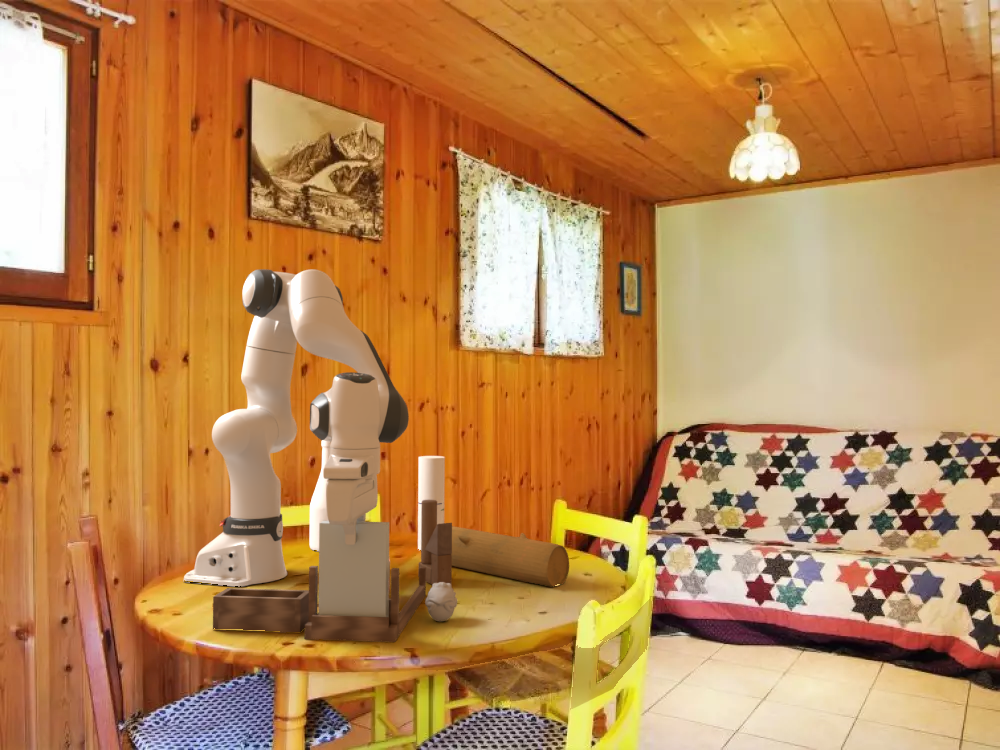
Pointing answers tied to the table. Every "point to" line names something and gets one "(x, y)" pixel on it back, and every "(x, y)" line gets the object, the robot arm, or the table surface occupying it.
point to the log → (510, 556)
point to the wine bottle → (319, 501)
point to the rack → (361, 625)
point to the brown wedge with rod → (435, 545)
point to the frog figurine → (441, 601)
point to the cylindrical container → (431, 486)
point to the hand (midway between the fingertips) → (354, 541)
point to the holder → (261, 609)
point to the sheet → (354, 570)
